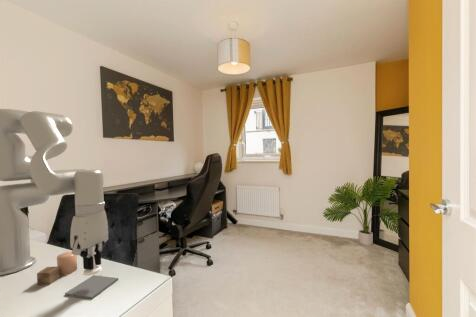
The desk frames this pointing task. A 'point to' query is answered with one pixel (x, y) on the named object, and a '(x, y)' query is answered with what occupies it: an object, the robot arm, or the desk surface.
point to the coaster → (91, 287)
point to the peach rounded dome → (67, 263)
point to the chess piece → (96, 267)
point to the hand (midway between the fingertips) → (92, 266)
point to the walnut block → (47, 275)
